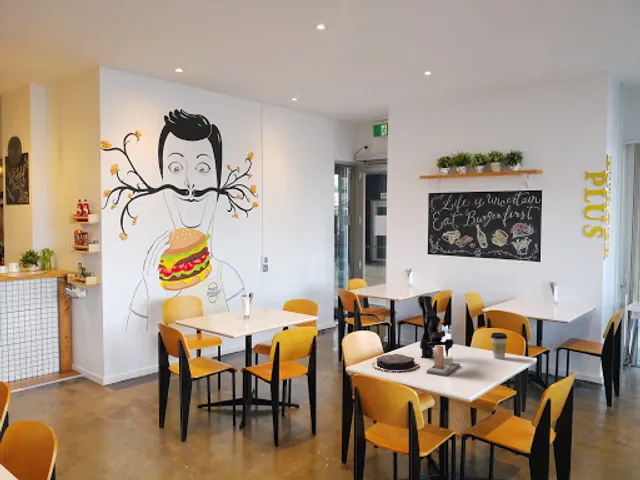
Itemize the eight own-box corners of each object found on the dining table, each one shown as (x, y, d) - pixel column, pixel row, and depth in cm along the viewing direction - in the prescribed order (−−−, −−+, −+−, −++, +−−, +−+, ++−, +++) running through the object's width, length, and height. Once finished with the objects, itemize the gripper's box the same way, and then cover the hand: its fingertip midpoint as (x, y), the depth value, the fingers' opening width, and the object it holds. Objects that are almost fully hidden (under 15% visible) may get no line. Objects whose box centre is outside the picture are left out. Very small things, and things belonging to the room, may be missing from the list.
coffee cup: (504, 361, 319) (504, 336, 319) (488, 358, 325) (488, 334, 325) (509, 357, 327) (509, 333, 326) (494, 355, 333) (493, 331, 332)
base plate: (426, 373, 298) (426, 363, 298) (440, 363, 318) (440, 354, 317) (447, 376, 292) (446, 366, 292) (459, 365, 311) (459, 356, 311)
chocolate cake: (383, 358, 334) (383, 347, 334) (425, 363, 320) (425, 352, 320) (364, 369, 310) (363, 358, 310) (408, 375, 296) (408, 364, 296)
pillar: (433, 368, 302) (433, 346, 302) (442, 368, 303) (442, 345, 302) (435, 371, 297) (435, 348, 297) (444, 370, 297) (444, 348, 297)
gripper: (420, 326, 303) (425, 350, 292) (452, 325, 303) (458, 348, 293) (417, 336, 311) (422, 360, 300) (448, 335, 312) (454, 359, 301)
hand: (439, 356), depth 298 cm, fingers open, 9 cm apart
